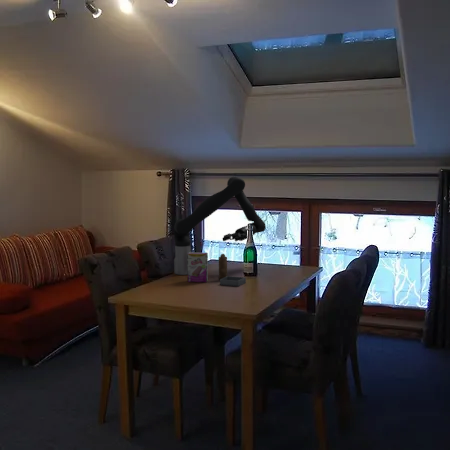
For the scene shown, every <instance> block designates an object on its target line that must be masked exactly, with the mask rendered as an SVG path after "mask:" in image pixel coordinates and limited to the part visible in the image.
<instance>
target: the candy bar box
mask: <svg viewBox="0 0 450 450" xmlns="http://www.w3.org/2000/svg"><path fill="white" fill-rule="evenodd" d="M208 258H209V255H208V252H194V251H193V252H192V251H191V252H189V253H188V254H187V266H188V274H187V282H188V283H207V282H208V281H209V273H208V272H209V270H208V269H209V265H208V263H209V259H208Z"/></svg>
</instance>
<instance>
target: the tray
mask: <svg viewBox="0 0 450 450" xmlns="http://www.w3.org/2000/svg"><path fill="white" fill-rule="evenodd" d="M246 280H247V278H246V277H244V276H243V277H242V276H233V275H231V276H230V275H227V277H224V278H222V279H220V280H219V285H220V286H229V287H241V286H243V285H244V284H246V282H247V281H246Z"/></svg>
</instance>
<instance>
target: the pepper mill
mask: <svg viewBox="0 0 450 450" xmlns="http://www.w3.org/2000/svg"><path fill="white" fill-rule="evenodd" d="M227 276H228V256H226V254H224V253H221V254H220V255H219V257H218V281H220V279H222V278H224V277H227Z"/></svg>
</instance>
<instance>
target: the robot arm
mask: <svg viewBox="0 0 450 450" xmlns="http://www.w3.org/2000/svg"><path fill="white" fill-rule="evenodd" d="M226 185H227V186H226V187H224V188H223V189H222V190H221V191H218V192H216V193H213V194H212V195H210V196H209V197H207V198H206V199H204V200H203V201H202V202H201V203H200V204H199V205H198V206H197V207H196V209H195V210H194V211H193V212H192V213H190V214H189V215H187V216H186V217H185V218H179V219H177V220H176V221H175V223H174V225H173V234H174V235H173V236H174V246H175V247H174V248H175V249H174V253H175V257H174V260H173V263H174V265H173V267H174V268H173V269H174V270H173V271H174V274H175V275H177V276H178V275H180V276H184V275H187V276H188V266H187V254H188V253H189V252H192V251H191V250H192V249H191V239H190V233H191V232H192V230H193V229H194V228H195V227H197V226H198V224H200V223H201V222H203V221H205V220H206V219H207V218H208V217H210V216H211V215H213V214H214V213H215V212H216V211H218V209H220V208H221V207H222V206H223V205H225V203H227V202H228V201H229V200H230V199H232V198H233V197H234V198H235V200H236V201H237V202H238V204H239V206H240V208H241V211H242V213H244V215H245V218H246V219H247V221H248V222H251V223H249V224H252V226H253V235H252V236H254V235H256V234H257V233H263V232H265V231H266V228H267V226H266V223H265V221H264V220H263V219H262V217H260V216H259V215H258V213H257V212H256V209H255V207H254V205H253V204H252V202H251V201H250V200H249V198H248V197H247V196H246V194H245V192H244V190H245V187H246V182H245V180H244V179H242V178H241V177H238V176H232V177H230V178H229V179H228V180H227V184H226ZM229 240H230V241H232V240H234V241H235V242H238V241H240V242H243V241H244V240H248V238H247V225H246V226H245V225H244V226H242V227H239V228H237V229H235V232H233V233H227V234H225V235H223V237H222V242H226V241H229Z"/></svg>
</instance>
